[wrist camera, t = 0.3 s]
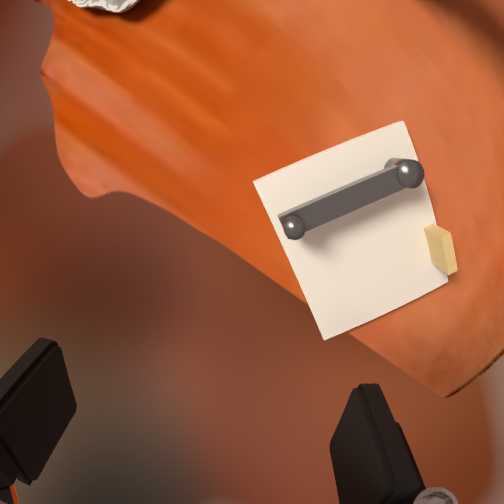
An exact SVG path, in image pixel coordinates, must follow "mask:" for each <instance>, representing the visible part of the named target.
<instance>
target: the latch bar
mask: <svg viewBox="0 0 504 504" xmlns="http://www.w3.org/2000/svg"><path fill="white" fill-rule="evenodd" d="M423 179H424V169H423V167H422V165H421V164H420V163H419V162H418V161H416V160H413V159H403V158H391V159H389V160H388V161H387V162H386V164H385V166H384V169H382V170H380V171H378V172H375V173H373V174H370V175H368V176H366V177H363V178H361V179H359V180H356V181H354V182H352V183H349V184H347V185H344V186H342V187H340V188H337V189H335V190H333V191H330V192H328V193H326V194H323V195H321V196H319V197H317V198H314V199H312V200H310V201H307V202H305V203H303V204H300V205H298V206H296V207H294V208H291V209H289V210H287V211H284V212H282V213H280V214H278V218H279V221H280V223H281V225H282V227H283V230H284V233H285V235H286V237H287V238H288V239H291V240H298V239H300V238H302V237H303V236H304V234H305V232H307V231H309V230H311V229H313V228H316V227H318V226H320V225H323V224H325V223H327V222H330V221H332V220H334V219H336V218H339V217H341V216H343V215H346V214H348V213H350V212H352V211H355V210H357V209H359V208H362V207H364V206H366V205H368V204H371V203H373V202H375V201H378V200H380V199H382V198H384V197H387V196H389V195H391V194H393V193H396V192H398V191H400V190H403V189H405V188H411V189H413V188H417V187H419V186H420V185H421V184H422V182H423Z"/></svg>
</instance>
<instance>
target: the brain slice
mask: <svg viewBox="0 0 504 504" xmlns="http://www.w3.org/2000/svg"><path fill="white" fill-rule="evenodd" d="M68 1H70V2H72V3H73V4H75V5H76V6H78V7H80V8H88V7H89V8H98V9H101V10H106V11H110V12H113V13H122V12H125V11H128V10H130V9H131V8H132V7H133V6H134V5H136V4H137V3H138V2H139V1H140V0H68Z"/></svg>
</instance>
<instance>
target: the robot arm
mask: <svg viewBox="0 0 504 504" xmlns="http://www.w3.org/2000/svg"><path fill="white" fill-rule="evenodd" d="M76 408H77V405H76V401H75V398H74V394H73V391H72V387H71V384H70V381H69V377H68V373H67V369H66V366H65V362H64V358H63V354H62V350H61V348H60V347H59V346H58V344H57V342H55V341H53V340H49V339H46V338H43V337H42V338H39V339H38V340H37V341H36V342H35V343H34V344H33V345H32V346H31V347H30V348H29V349H28V350H27V351H26V352H25V353H24V355H22V356H21V357H20V358H19V360H17V362H16V363H15V364H14V365H13V366H12V367H11V368H10V369H9V370H8V371H7V372H6V373H5V374H4V376H3V377H2V378H1V379H0V504H19V501H18V498H17V494H16V490H15V486H14V482H15V480H16V478H17V479H18V480H20V481H22V482H23V483H25V484H27V485H29V486H30V485H31V483H32V481H33V480H37V479H38V477H39V475H40V473H41V472H42V470H43V468H44V466H45V464H46V462H47V461H48V459H49V457H50V455H51V453H52V452H53V450H54V448H55V446H56V445H57V443H58V441H59V439H60V438H61V436H62V434H63V433H64V431H65V429H66V427H67V426H68V424H69V422H70V421H71V419H72V417H73V416H74V414H75V412H76ZM330 454H331V459H332V464H333V470H334V475H335V480H336V486H337V491H338V497H339V503H340V504H458V502H457V500H456V498H455V496H454V495H453V494H452V493H451V492H450V491H448V490H446V489H443V488H440V487H431V488H428V489H426V488H425V485H424V483H423V480H422V478H421V475H420V473H419V470H418V468H417V465H416V463H415V460H414V458H413V455H412V453H411V450H410V448H409V445H408V443H407V440H406V438H405V436H404V433H403V431H402V429H401V427H400V425H399V423H397V422H395V420H394V418H393V415H392V413H391V411H390V408H389V406H388V404H387V401H386V399H385V397H384V395H383V392H382V390H381V388H380V386H379V385H378V384H360V385H359V386H358V388H354V389H353V390H352V392H351V395H350V397H349V400H348V402H347V405H346V407H345V410H344V412H343V414H342V417H341V419H340V421H339V424H338V426H337V428H336V430H335V432H334V435H333V437H332V439H331V442H330Z"/></svg>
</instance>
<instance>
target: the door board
mask: <svg viewBox="0 0 504 504" xmlns="http://www.w3.org/2000/svg"><path fill="white" fill-rule="evenodd" d="M391 158H403V159H413V160H416V161H418V159H417V156H416V153H415V150H414V147H413V144H412V142H411V139H410V136H409V133H408V131H407V128H406V126H405V123H404V121H399V122H396V123H393V124H390V125H388V126H385V127H382V128H380V129H377V130H374V131H372V132H369V133H367V134H364V135H361V136H359V137H356V138H354V139H351V140H349V141H346V142H344V143H341V144H339V145H336V146H334V147H331V148H329V149H326V150H324V151H321V152H319V153H317V154H314V155H312V156H309V157H307V158H305V159H302V160H300V161H298V162H295V163H293V164H291V165H288V166H286V167H284V168H282V169H279V170H277V171H275V172H272V173H270V174H268V175H266V176H263V177H261V178H259V179H257V180H255V181H253V183H254V185H255V187H256V189H257V192H258V194H259V196H260V198H261V200H262V202H263V204H264V206H265V209H266V211H267V213H268V215H269V217H270V219H271V222H272V224H273V226H274V228H275V230H276V233H277V235H278V237H279V239H280V241H281V244H282V246H283V248H284V250H285V252H286V255H287V257H288V259H289V261H290V263H291V266H292V268H293V270H294V272H295V275H296V277H297V279H298V281H299V284H300V286H301V288H302V290H303V293H304V295H305V297H306V300H307V302H308V304H309V306H310V309H311V311H312V313H313V316H314V318H315V320H316V322H317V325H318V327H319V329H320V332H321V334H322V337H323V339H324V340H326V339H329V338H331V337H334V336H336V335H338V334H341V333H343V332H345V331H348V330H350V329H352V328H355V327H357V326H359V325H362V324H364V323H366V322H368V321H370V320H373V319H375V318H377V317H379V316H381V315H383V314H386V313H388V312H390V311H392V310H394V309H396V308H398V307H400V306H402V305H404V304H406V303H408V302H410V301H412V300H414V299H416V298H418V297H420V296H422V295H424V294H426V293H428V292H430V291H432V290H434V289H436V288H438V287H439V286H441V285H443V284H445V283H447V282H448V277H447V274H448V275H450V274H452V273H454V272H456V271H458V270H457V263H456V258H455V252H454V247H453V242H452V237H451V233H450V232H448V231H446V230H444V229H442V228H440V227H438V226H437V224H436V220H435V216H434V212H433V208H432V204H431V201H430V197H429V194H428V190H427V187H426V184H425V180H424V179H423V182H422V184H421V185H420V186H419V187H417V188H413V189H411V188H405V189H403V190H400V191H398V192H396V193H393V194H391V195H389V196H387V197H384V198H382V199H380V200H378V201H375V202H373V203H371V204H368V205H366V206H364V207H362V208H359V209H357V210H355V211H352V212H350V213H348V214H346V215H343V216H341V217H339V218H336V219H334V220H332V221H330V222H327V223H325V224H323V225H320V226H318V227H316V228H313V229H311V230H309V231H307V232H305V234H304V236H303V237H302V238H300V239H298V240H291V239H288V238H287V237H286V235H285V233H284V230H283V227H282V225H281V223H280V221H279V218H278V214H280V213H282V212H284V211H287V210H289V209H291V208H294V207H296V206H298V205H300V204H303V203H305V202H307V201H310V200H312V199H314V198H317V197H319V196H321V195H323V194H326V193H328V192H330V191H333V190H335V189H337V188H340V187H342V186H344V185H347V184H349V183H352V182H354V181H356V180H359V179H361V178H363V177H366V176H368V175H370V174H373V173H375V172H378V171H380V170H382V169H384V166H385V164H386V162H387V161H388V160H389V159H391Z"/></svg>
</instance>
